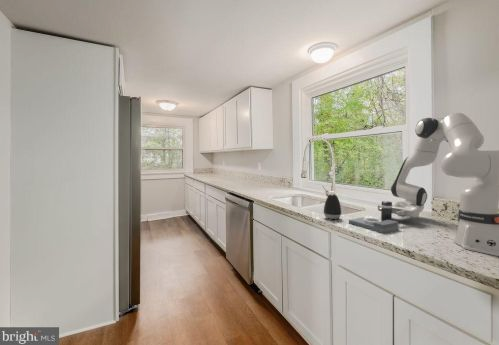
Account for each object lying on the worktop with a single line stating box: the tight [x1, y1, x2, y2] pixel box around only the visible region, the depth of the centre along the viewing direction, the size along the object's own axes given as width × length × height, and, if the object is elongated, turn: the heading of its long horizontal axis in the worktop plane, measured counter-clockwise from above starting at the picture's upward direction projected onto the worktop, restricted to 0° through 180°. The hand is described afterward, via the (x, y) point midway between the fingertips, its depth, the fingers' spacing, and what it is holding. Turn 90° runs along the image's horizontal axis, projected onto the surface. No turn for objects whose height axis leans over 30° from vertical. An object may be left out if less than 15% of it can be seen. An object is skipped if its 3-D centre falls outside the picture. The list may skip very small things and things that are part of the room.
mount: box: [348, 216, 399, 234], centre depth 124 cm, size 20×12×4 cm, turn 28°
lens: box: [380, 200, 393, 221], centre depth 129 cm, size 5×5×12 cm
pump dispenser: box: [323, 193, 342, 220], centre depth 140 cm, size 10×10×15 cm
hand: (388, 211), depth 130 cm, fingers open, 8 cm apart
